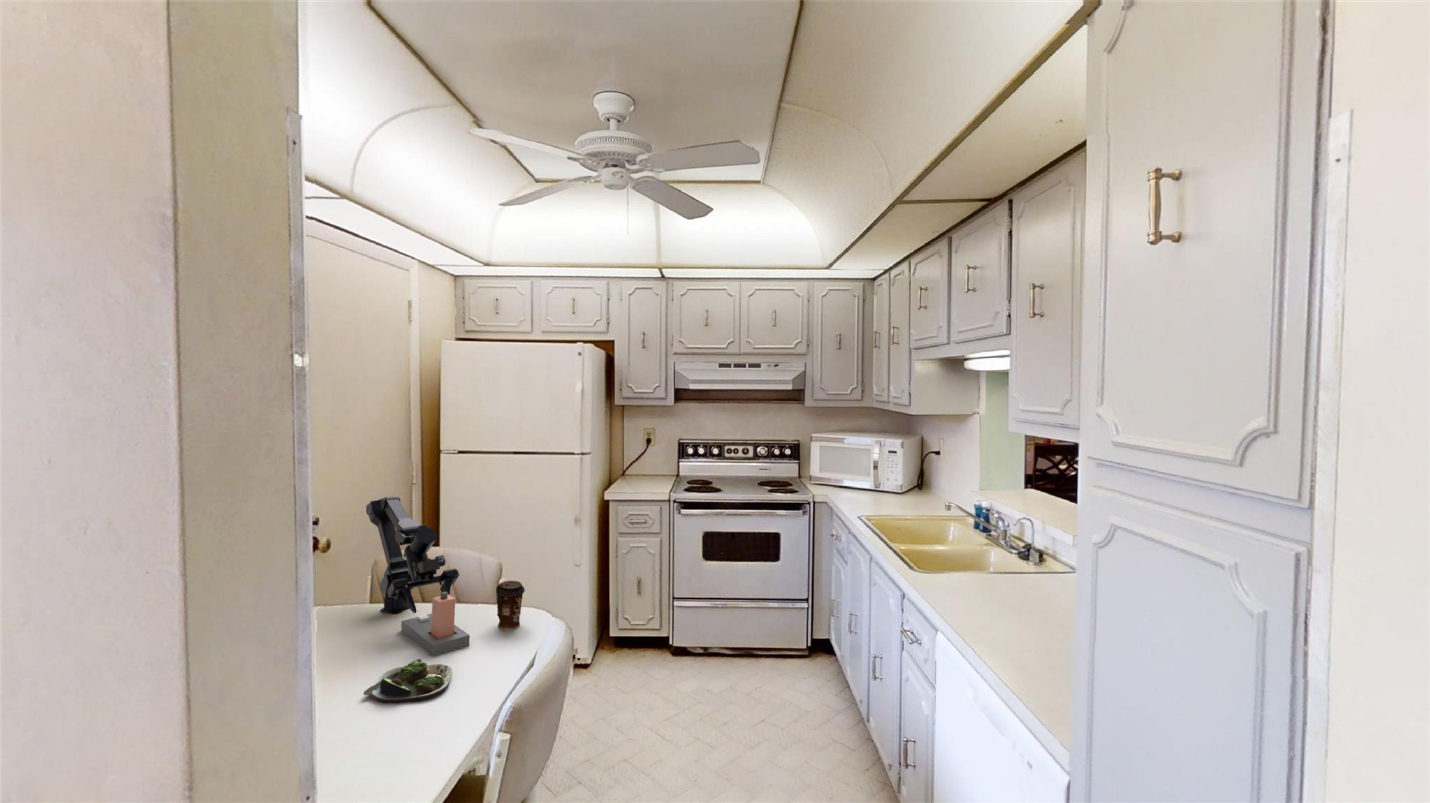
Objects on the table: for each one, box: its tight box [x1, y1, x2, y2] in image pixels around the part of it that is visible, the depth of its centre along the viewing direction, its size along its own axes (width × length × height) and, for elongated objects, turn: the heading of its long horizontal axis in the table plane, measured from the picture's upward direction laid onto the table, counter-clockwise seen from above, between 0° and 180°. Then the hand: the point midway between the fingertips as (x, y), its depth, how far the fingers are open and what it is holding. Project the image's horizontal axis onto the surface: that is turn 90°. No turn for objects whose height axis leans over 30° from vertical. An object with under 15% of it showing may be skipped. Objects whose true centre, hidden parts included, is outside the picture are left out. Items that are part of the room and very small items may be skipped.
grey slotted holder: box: [400, 613, 471, 657], centre depth 169 cm, size 22×10×4 cm, turn 48°
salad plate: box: [363, 658, 453, 704], centre depth 144 cm, size 19×18×5 cm
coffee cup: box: [495, 580, 526, 631], centre depth 180 cm, size 9×8×13 cm
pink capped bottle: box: [431, 591, 456, 640], centre depth 166 cm, size 4×4×14 cm
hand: (431, 608), depth 171 cm, fingers open, 9 cm apart
